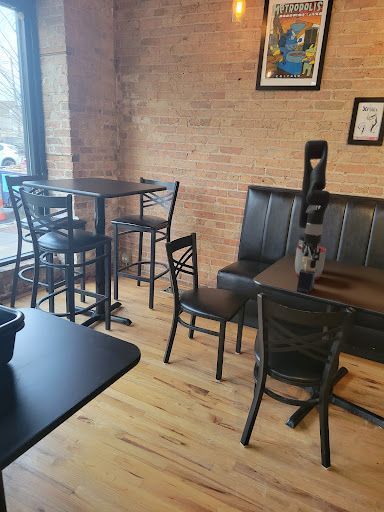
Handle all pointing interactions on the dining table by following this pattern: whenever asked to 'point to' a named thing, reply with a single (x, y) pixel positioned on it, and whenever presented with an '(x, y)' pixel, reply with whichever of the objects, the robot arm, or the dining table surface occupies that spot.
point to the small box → (306, 281)
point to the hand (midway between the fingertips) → (308, 265)
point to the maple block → (307, 264)
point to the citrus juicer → (300, 256)
